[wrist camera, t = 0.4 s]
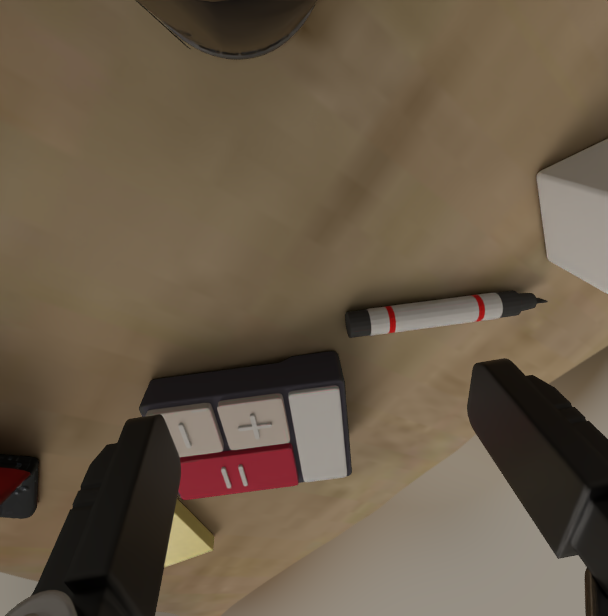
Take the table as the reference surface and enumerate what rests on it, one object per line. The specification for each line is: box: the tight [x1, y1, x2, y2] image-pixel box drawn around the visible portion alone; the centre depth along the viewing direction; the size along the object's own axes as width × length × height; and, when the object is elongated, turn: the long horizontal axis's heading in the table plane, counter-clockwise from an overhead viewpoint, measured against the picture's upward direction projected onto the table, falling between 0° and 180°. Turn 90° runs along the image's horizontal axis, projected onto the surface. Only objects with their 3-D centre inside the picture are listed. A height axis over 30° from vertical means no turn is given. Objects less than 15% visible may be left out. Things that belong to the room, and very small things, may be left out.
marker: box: [345, 291, 547, 338], centre depth 29 cm, size 15×2×2 cm, turn 95°
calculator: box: [139, 351, 352, 500], centre depth 31 cm, size 11×4×15 cm
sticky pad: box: [164, 499, 214, 567], centre depth 39 cm, size 8×8×2 cm
